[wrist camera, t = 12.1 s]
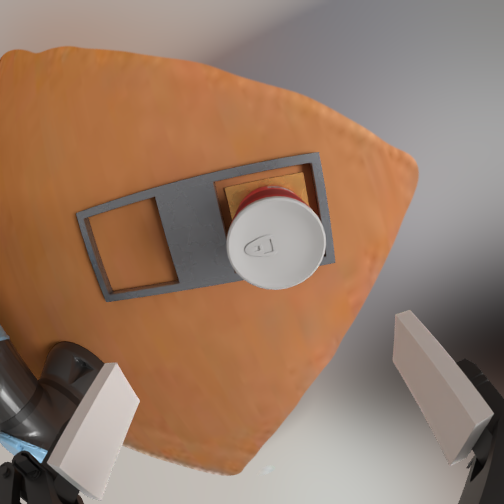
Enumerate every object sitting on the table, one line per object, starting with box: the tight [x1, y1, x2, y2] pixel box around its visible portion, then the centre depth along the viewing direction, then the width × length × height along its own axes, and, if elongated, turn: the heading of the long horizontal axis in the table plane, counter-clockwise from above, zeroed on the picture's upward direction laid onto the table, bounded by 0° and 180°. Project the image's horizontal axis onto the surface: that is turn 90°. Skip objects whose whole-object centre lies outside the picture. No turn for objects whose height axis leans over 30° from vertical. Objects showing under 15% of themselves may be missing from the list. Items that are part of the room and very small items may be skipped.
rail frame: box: [76, 152, 335, 302], centre depth 33 cm, size 31×13×1 cm, turn 102°
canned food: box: [226, 186, 326, 290], centre depth 27 cm, size 8×8×11 cm
